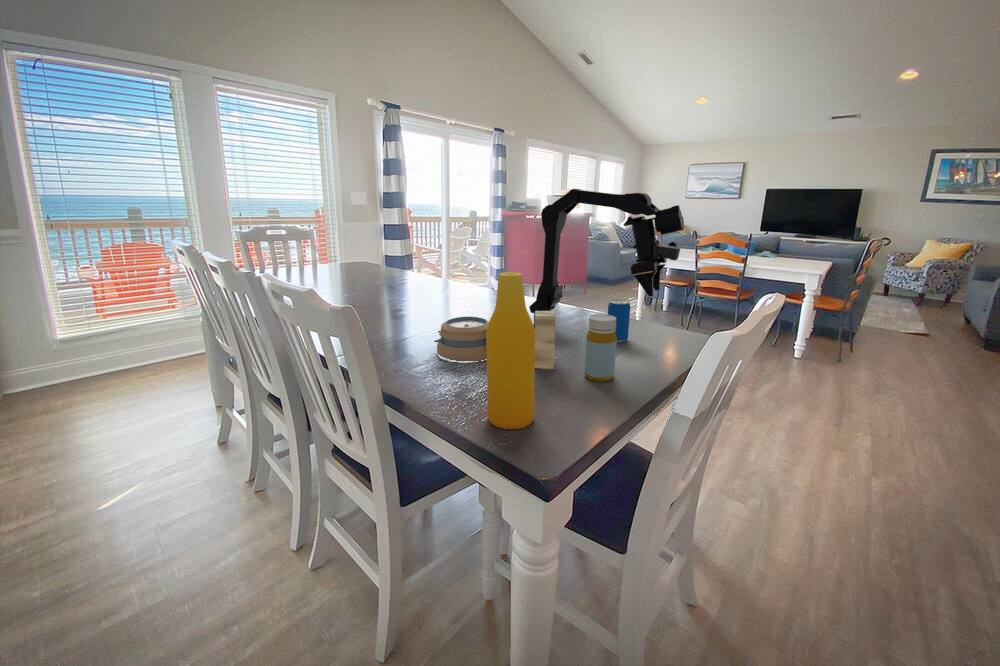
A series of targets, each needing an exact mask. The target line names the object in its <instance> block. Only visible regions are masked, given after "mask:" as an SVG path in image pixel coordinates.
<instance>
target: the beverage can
mask: <svg viewBox="0 0 1000 666" xmlns="http://www.w3.org/2000/svg"><path fill="white" fill-rule="evenodd" d="M607 315H612V316H614V317H616V327H615V328H616V329H615V333H616V336H617V343H623V341H624V342H625V341H627V340H628V339H629V327H630V319H631V318H630V316H631V304H630V301H629V300H626V299H611V300H610V299H609V303H608V305H607Z"/></svg>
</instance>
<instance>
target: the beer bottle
mask: <svg viewBox="0 0 1000 666" xmlns="http://www.w3.org/2000/svg"><path fill="white" fill-rule="evenodd" d="M524 289H525V288H524V279H523V273H521V272H516V271H507V272H506V271H505V272H500V273H499V274H498V279H497V289H496V300H495V306H494V307H495V308H494V310H493V312H492V314H491V317H490V318H489V320H488V321H489V324H488V327H487V333H486V346H487V361H486V385H487V386H486V387H487V388H486V391H487V393H486V394H487V395H486V397H487V406H486V407H487V413H486V414H487V418H488V421H489V423H490V422H491V423H492V424H493V425H492V424H491V425H492V426H494V425H495V426H497V427H496V428H498V427H500V428H499V429H501V428H504V429H503V430H506V429H516V430H521V429H524V428H527V427H528V426H530V425H531V424H532V422H534V418H535V373H536V371H535V370H536V369H535V330H534V321H533V320H532V318H531V316H530V314H529V312H528V309H527V306H526V300H525V298H526V297H525V290H524ZM495 426H494V427H495ZM526 426H527V427H526ZM520 428H521V429H520Z"/></svg>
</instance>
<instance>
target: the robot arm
mask: <svg viewBox="0 0 1000 666" xmlns="http://www.w3.org/2000/svg"><path fill="white" fill-rule="evenodd" d="M579 204H583V205H590V206H591V205H592V206H598V207H606V208H614V209H617V210H619V211H621V212H624V213H627V214H631V215H634V216H636V215H637V216H638V215H639V216H638V217H633V216H628V217H627V219H626V221H625V222H624V223H623V226H624V227H627V226H631V228H632V234H633V236H632V237H633V240H634V244H633V249H635V251H636V257H637V259H635V262H634V263H633V264H632V265H631V266H630V268H629V269H630V274H631V275H633V276H632V277H634V278H635V280H636V281H637V282H638V284H639V285H640V287H642V289H643V290H644V292H645V294H646V295H647V296H648V297H653V296H654V291H655V292H656V291H659V290H660V287H661V285H660V284H661V274H662V273H661V272H662V270H663V269H664V267H665V266H666V265H667V264H666V263H667V259H668V260H670V261H677V260H678V259H679V256H680V252H681V247H680V246H678V244H677V242H676V241H670V242H669V243H668V244H660V240H659V238H658V239H657V236H656V233H660V235H661V236H664V235H669V234H673V233H678V232H683V231H684V229H685V221H684V216H683V214H682V211H681V208H680V205H679V204H676V205H673V206H671V207H668V208H664V209H660V208H659V207H657V206H656V205H655V204H654V203H653V202H652V198H651V197H650V195H649V194H647V193H645V192H633V193H632V192H631V193H629V192H628V193H609V192H601V191H600V192H599V191H592V190H584V189H581V188H572V189H570V190H569V191H568V192H566V194H564V195H563V196H561V197H559V198H558V199H557V200H555V201H554V202H553V203H552V204H547V205H545V207H543V208H542V210H541V215H540V216H541V225H542V228H543V231H544V236H545V237H544V248H543V249H544V252H543V253H544V254H543V265H542V266H543V268H542V280H541V283H540V284H539V287H538V289H537V290H538V291H537V295H536V299H535V301H534V302H532V303H531V305H529V306H528V308H529V312H530V313H531V314H533V325H534V330H535V311H553V310H555V308H556V305H558V304H559V303H560V301H561V299H563V289H564V285H560V284H559V282H558V272H559V271H558V270H559V259H560V258H559V257H560V246H561V245H560V244H561V235H562V231H563V230H564V227H565V224H566V220H567V217H568V214H569V213H570V214H571V212H572V211H573V210H574V209H575V208H576V207H577V205H579ZM640 215H642V216H640ZM654 215H655V216H654ZM645 216H647V217H650V216H654V217H650V218H645ZM661 263H662V264H661Z"/></svg>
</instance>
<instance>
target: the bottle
mask: <svg viewBox="0 0 1000 666" xmlns="http://www.w3.org/2000/svg"><path fill="white" fill-rule="evenodd" d="M615 327H616V317H614V316H612V315H608V314H607V313H605V314H603V313H602V314H601V313H598V314H597V313H596V314H592V315H591V314H590V315H589V317H588V331H587V334H586V339H585V359H584V376H585V377H586V378H587V379H588V380H589V381H592V382H597V383H598V382H599V383H605V381H606V382H608V381H609V380H610V381H611V380H612V379H613V378H614V377H615V372H616V371H615V369H616V355H617V353H616V352H617V343H618V342H617V336H616V333H615V329H616V328H615Z"/></svg>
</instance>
